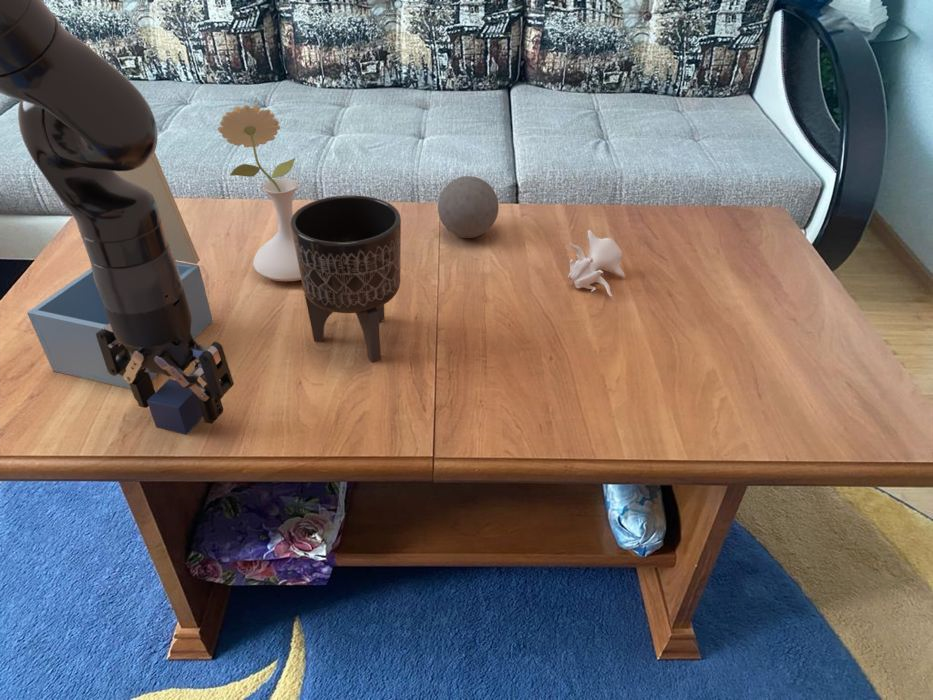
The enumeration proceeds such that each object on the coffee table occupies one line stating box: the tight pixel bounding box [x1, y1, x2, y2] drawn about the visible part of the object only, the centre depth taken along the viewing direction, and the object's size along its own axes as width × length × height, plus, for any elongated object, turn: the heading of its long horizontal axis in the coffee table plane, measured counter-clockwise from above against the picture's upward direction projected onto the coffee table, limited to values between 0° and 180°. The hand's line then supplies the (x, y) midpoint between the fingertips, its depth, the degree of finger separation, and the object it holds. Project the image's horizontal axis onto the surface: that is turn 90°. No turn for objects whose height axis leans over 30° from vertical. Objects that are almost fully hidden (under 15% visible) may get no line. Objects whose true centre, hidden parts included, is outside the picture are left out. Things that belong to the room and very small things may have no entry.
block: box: [147, 378, 203, 436], centre depth 77 cm, size 4×4×4 cm
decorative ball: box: [437, 175, 499, 239], centre depth 113 cm, size 10×10×10 cm
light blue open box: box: [26, 260, 214, 390], centre depth 87 cm, size 16×13×9 cm
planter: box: [290, 194, 402, 363], centre depth 86 cm, size 13×13×18 cm
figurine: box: [567, 229, 626, 298], centre depth 103 cm, size 10×8×10 cm
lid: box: [115, 151, 201, 265], centre depth 85 cm, size 16×13×5 cm
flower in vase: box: [217, 104, 302, 282], centre depth 98 cm, size 13×11×25 cm
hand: (181, 410), depth 78 cm, fingers open, 8 cm apart
